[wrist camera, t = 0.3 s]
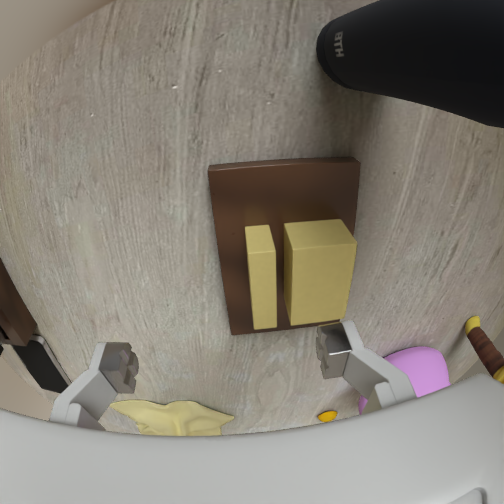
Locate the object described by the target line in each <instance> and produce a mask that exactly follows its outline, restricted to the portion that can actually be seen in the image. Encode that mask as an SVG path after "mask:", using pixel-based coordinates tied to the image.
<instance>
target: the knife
mask: <svg viewBox="0 0 504 504" xmlns="http://www.w3.org/2000/svg"><path fill="white" fill-rule="evenodd" d="M465 333H466V335H467V337H468V339H469V340H470V342H471V344H472V346H473V348H474V349H475V351H476V353H477V354H478V356H479V358H480V360H481V361H482V363H483V364H484V366H485V367H486V369H487V370H488V372H489V373H490V375H491V376H492V377H493V378H494V379H496V380H498V381H499V382H501V383H502V384H504V358H503V356H502V355H501V353H500V352H499V351H497V350H496V348H495V347H494V345H493V343H492V342H491V341H490V339H489V338H488V337H487V335H486V334H485V332H484V331H483V330H482V329H481V328H480V318H479V317H478V316H474V317H472V318H470V319H469V320H468V321H467V322H466V325H465Z"/></svg>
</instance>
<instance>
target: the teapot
mask: <svg viewBox="0 0 504 504" xmlns="http://www.w3.org/2000/svg"><path fill="white" fill-rule="evenodd" d="M384 359H385V360H387V361H388V362H390V363H391V364H392V365H394V366H395V367H397V368H398V369H400V370H401V371H403V372H404V373H406V374H407V375H408V377H409V379H410V382H411V384H412V386H413V389H414V391H415V393H416V395H417V398H418V397H421V396H423V395H426V394H429V393H432V392H434V391H437V390H440V389H442V388H445V387H447V386H450V385H451V384H450V383H449V375H448V369H447V365H446V362H445V359H444V357H443V355H442V354H441V353H440V352H439V351H438V350H436V349H433V348H430V347H423V346H420V347H412V348H408V349H405V350H402V351H399V352H396V353H394V354H390V355H388V356H387V357H385V358H384ZM367 401H368V400H367V399H366V398H365V397H363V396H362V395H361V397H360V399H359V404H358V406H359V413H360V415H361V414H362V411H363V409H364V407H365V405H366V403H367Z"/></svg>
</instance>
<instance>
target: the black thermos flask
mask: <svg viewBox="0 0 504 504" xmlns="http://www.w3.org/2000/svg"><path fill="white" fill-rule="evenodd" d="M316 50H317V55H318V60H319V62H320V64H321V66H322V68H323V70H324V72H325V73H326V74H327V75H328V76H329V77H330V78H331V79H332V80H333V81H334V82H336V83H338V84H339V85H341V86H343V87H345V88H349V89H353V90H358V91H364V92H369V93H375V94H380V95H385V96H389V97H394V98H398V99H403V100H407V101H411V102H415V103H419V104H423V105H426V106H430V107H434V108H437V109H440V110H444V111H447V112H450V113H453V114H456V115H459V116H462V117H465V118H468V119H471V120H474V121H477V122H479V123H482V124H485V125H488V126H494V127H500V128H504V0H379V1H377V2H374V3H371V4H369V5H366V6H364V7H361V8H359V9H357V10H354V11H352V12H350V13H347V14H345V15H343V16H341V17H339V18H336V19H334V20H332V21H331V22H329V23H328V24H327V25H326V26H325V27H324V28H323V29H322V31H321V33H320V35H319V36H318V40H317V48H316Z"/></svg>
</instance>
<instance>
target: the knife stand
mask: <svg viewBox="0 0 504 504" xmlns="http://www.w3.org/2000/svg"><path fill="white" fill-rule="evenodd" d="M0 325H1V327H2V328H3V330H4V331H5V333H6V334H7V336H6V338H5V340H4V342H3V344H10V345H19V346H27V344H28V342H29V340H30V338H31V336H32V334H33V332H34V330H35V328H36V326H37V324H36V322H35V321H34V319H33V317H32V316H31V314H30V313H29V311H28V309H27V308H26V306H25V304H24V302H23V301H22V299H21V297H20V295H19V294H18V292H17V290H16V288H15V286H14V284H13V282H12V281H11V279H10V277H9V275H8V273H7V271H6V269H5V267H4V265H3V262H2V260H1V258H0Z"/></svg>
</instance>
